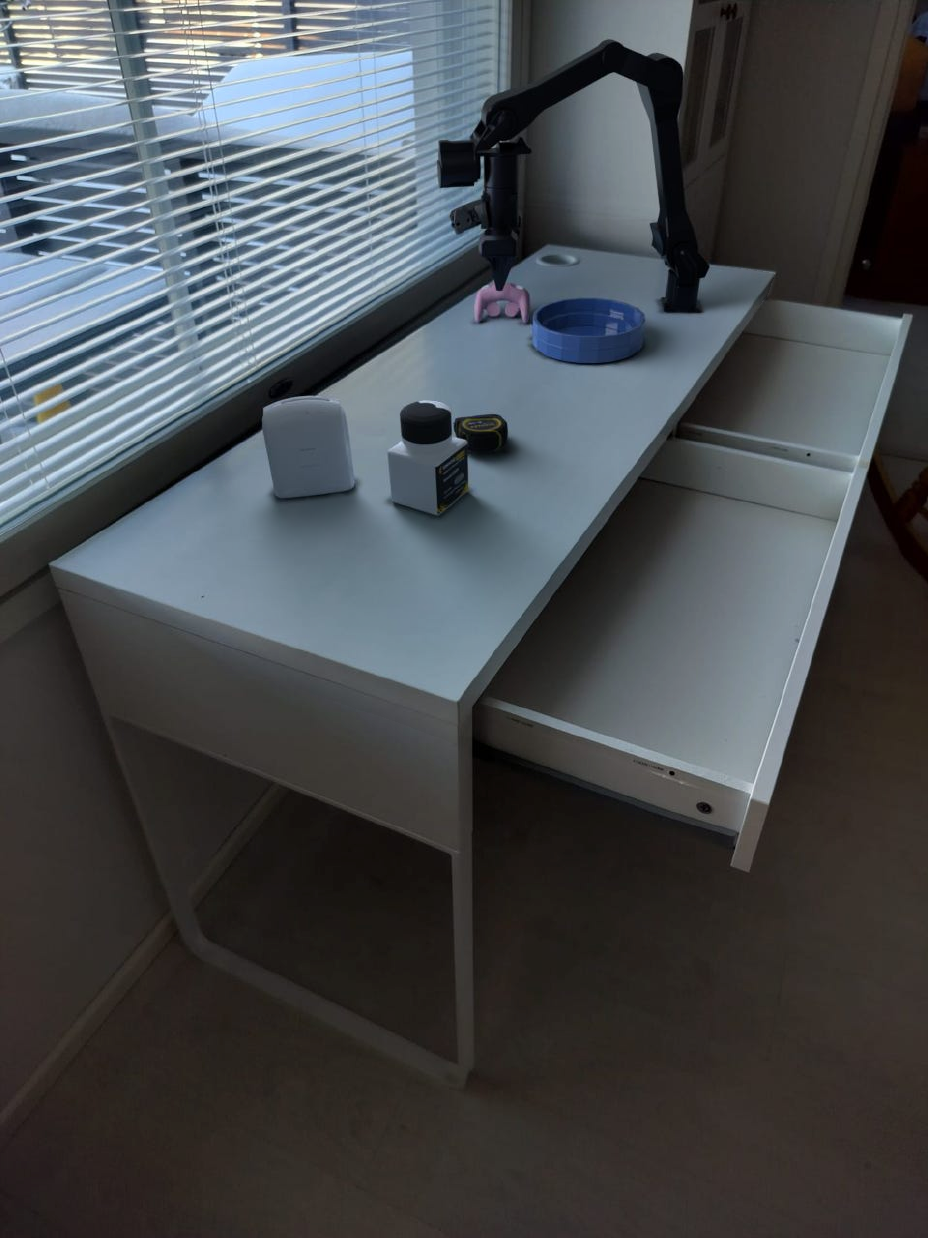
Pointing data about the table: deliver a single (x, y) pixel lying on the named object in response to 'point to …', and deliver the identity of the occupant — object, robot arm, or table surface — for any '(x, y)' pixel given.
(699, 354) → the table surface
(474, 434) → the tape measure
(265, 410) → the photo printer
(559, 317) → the bowl
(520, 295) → the video game controller
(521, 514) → the table surface
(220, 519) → the table surface
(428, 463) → the medicine bottle
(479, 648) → the table surface
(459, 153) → the robot arm
